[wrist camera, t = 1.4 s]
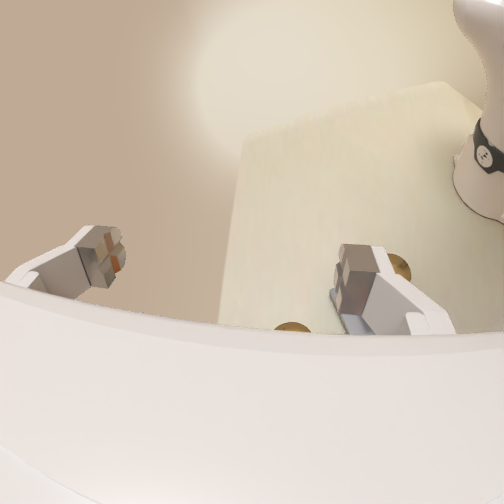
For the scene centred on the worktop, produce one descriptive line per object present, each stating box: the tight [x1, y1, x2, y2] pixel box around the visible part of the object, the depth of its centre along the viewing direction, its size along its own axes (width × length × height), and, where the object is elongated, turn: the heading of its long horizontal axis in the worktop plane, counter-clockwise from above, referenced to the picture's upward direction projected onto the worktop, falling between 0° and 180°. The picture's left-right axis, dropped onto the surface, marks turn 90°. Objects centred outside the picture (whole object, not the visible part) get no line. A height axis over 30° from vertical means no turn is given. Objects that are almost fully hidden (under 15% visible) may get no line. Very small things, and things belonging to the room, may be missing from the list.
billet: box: [274, 322, 311, 333], centre depth 34 cm, size 5×5×11 cm
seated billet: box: [387, 254, 411, 282], centre depth 34 cm, size 5×5×11 cm
